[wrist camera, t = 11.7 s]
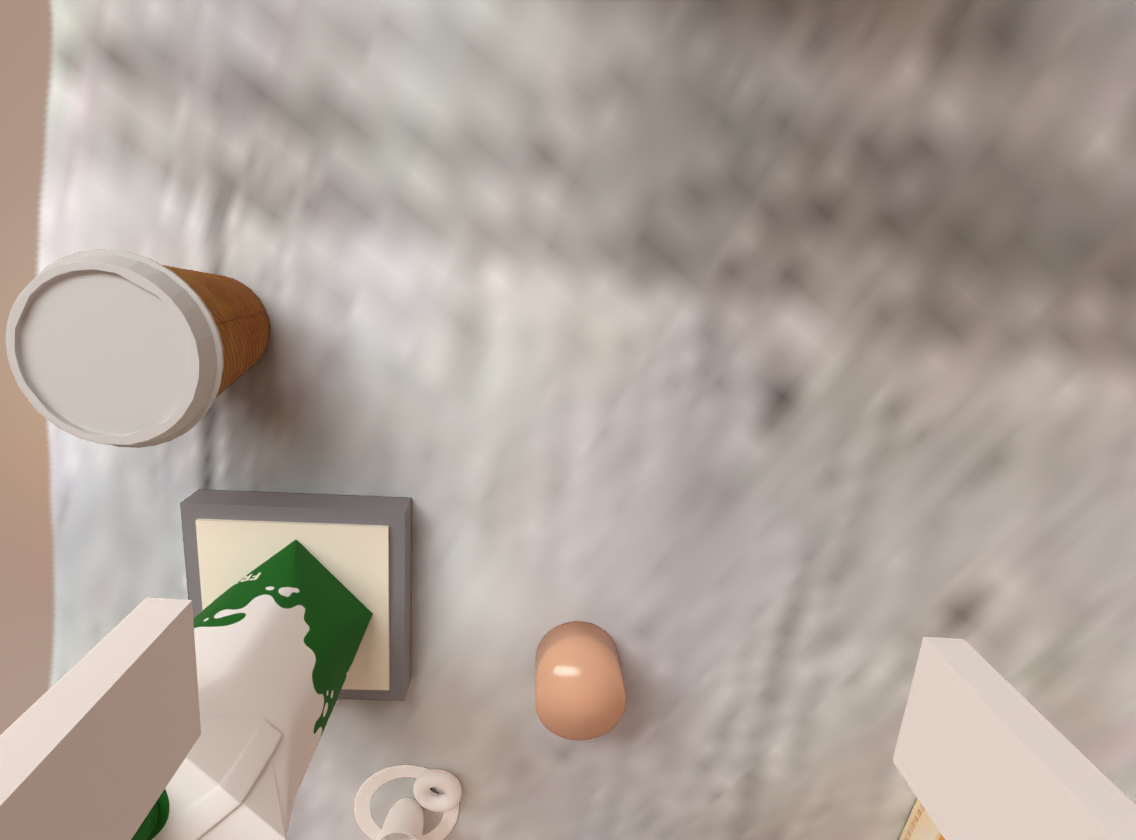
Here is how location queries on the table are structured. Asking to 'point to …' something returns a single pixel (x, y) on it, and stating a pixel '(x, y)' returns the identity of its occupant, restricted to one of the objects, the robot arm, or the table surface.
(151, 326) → the disposable coffee cup
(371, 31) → the table surface
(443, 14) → the table surface
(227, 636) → the soya milk
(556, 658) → the peach capsule
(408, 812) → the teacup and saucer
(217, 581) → the grey framed square panel
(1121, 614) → the table surface
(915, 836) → the coffeecake box
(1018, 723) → the robot arm
